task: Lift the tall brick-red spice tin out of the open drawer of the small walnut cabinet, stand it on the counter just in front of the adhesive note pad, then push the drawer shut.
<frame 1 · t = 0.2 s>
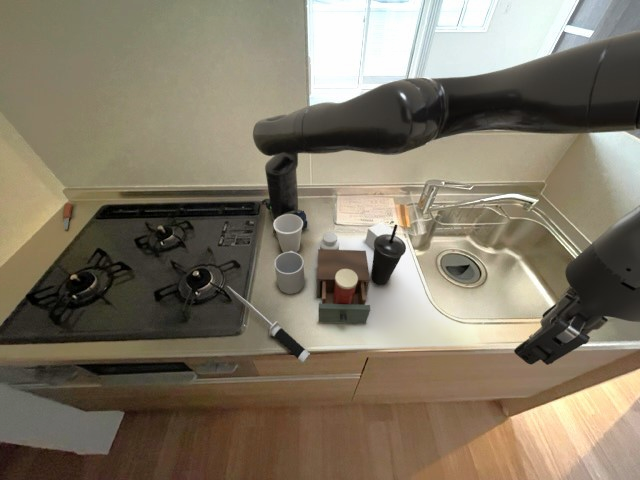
hand: (536, 337, 35), 25 cm above the worktop, tool pointing down, fingers open, 8 cm apart
dixie cup: (290, 247, 79), on the worktop
cup: (291, 279, 71), on the worktop
tin: (341, 306, 63), point 2 cm above the worktop, touching drawer
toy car: (287, 220, 83), point 3 cm above the worktop
kitchen knife: (71, 215, 87), point 1 cm above the worktop
adhesive note: (378, 244, 81), on the worktop
drinking cup: (379, 278, 72), on the worktop
cabinet: (340, 283, 70), on the worktop
knife: (264, 324, 61), on the worktop
drawer: (342, 302, 61), point 4 cm above the worktop, slide at 6.0 cm, touching tin
supplement bottle: (328, 260, 76), on the worktop
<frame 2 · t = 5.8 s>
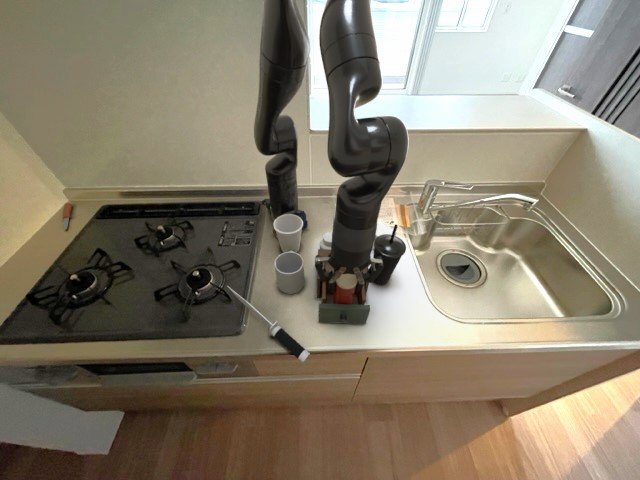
hand: (344, 289, 58), 10 cm above the worktop, tool pointing down, fingers closed on tin, 4 cm apart
tin: (341, 306, 63), point 2 cm above the worktop, touching drawer, gripper
everything else where it was.
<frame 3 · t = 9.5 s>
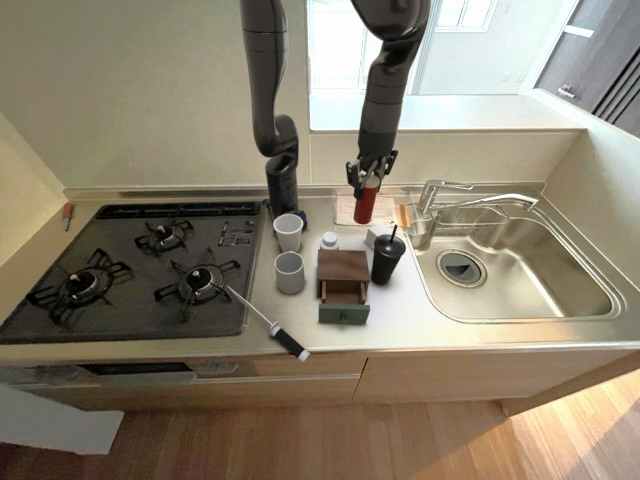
hand: (366, 195, 62), 22 cm above the worktop, tool pointing down, fingers closed on tin, 4 cm apart
tin: (362, 218, 67), point 14 cm above the worktop, touching gripper
drawer: (342, 302, 61), point 4 cm above the worktop, slide at 6.0 cm
everything else where it was.
when the fingers open (8 cm above the worktop, at t = 13.1 s): tin stays where it is, on the worktop.
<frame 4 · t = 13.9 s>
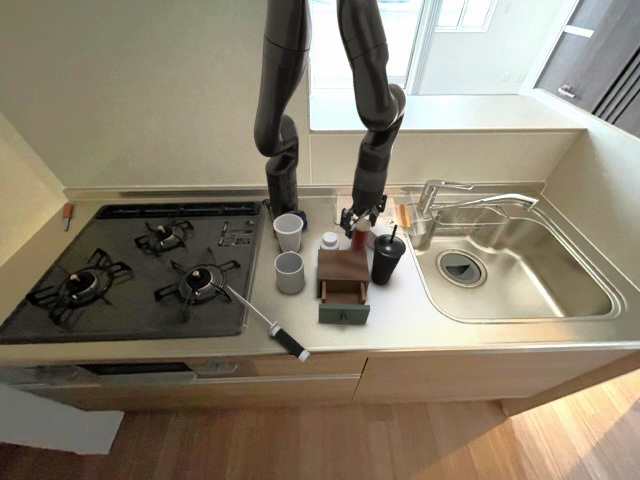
hand: (360, 231, 72), 9 cm above the worktop, tool pointing down, fingers open, 8 cm apart
tin: (356, 252, 78), on the worktop
everything else where it was.
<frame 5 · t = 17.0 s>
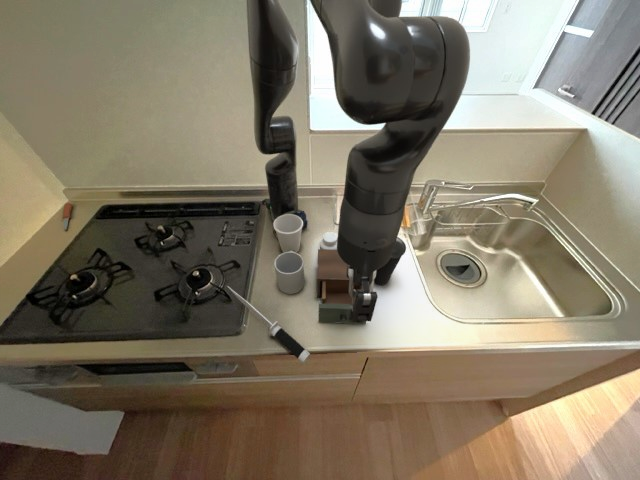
hand: (354, 296, 44), 20 cm above the worktop, tool pointing down, fingers open, 8 cm apart
nothing on the worktop moved.
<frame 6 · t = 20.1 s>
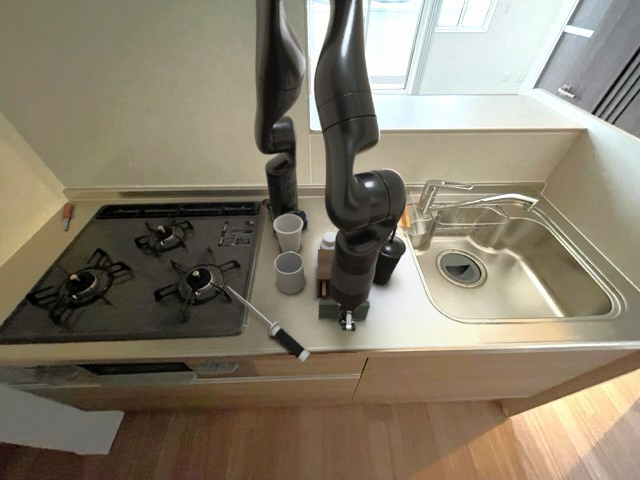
hand: (343, 322, 57), 5 cm above the worktop, tool pointing down, fingers closed
drawer: (342, 299, 62), point 4 cm above the worktop, slide at 5.1 cm, touching gripper
everything else where it was.
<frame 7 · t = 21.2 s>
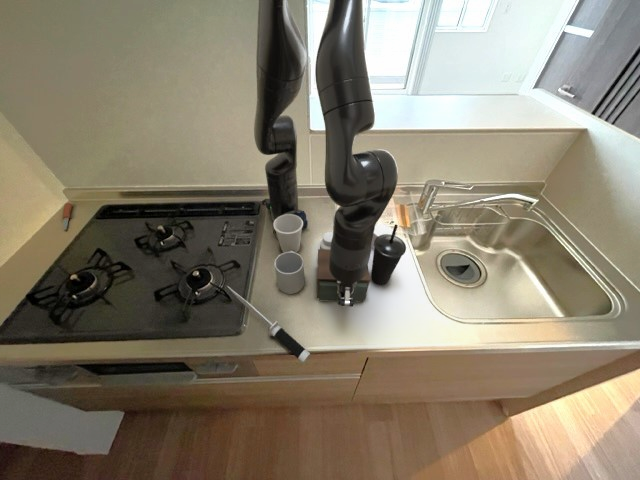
hand: (342, 302, 61), 4 cm above the worktop, tool pointing down, fingers closed
drawer: (341, 281, 66), point 4 cm above the worktop, slide at 0.0 cm, touching cabinet, gripper
everything else where it was.
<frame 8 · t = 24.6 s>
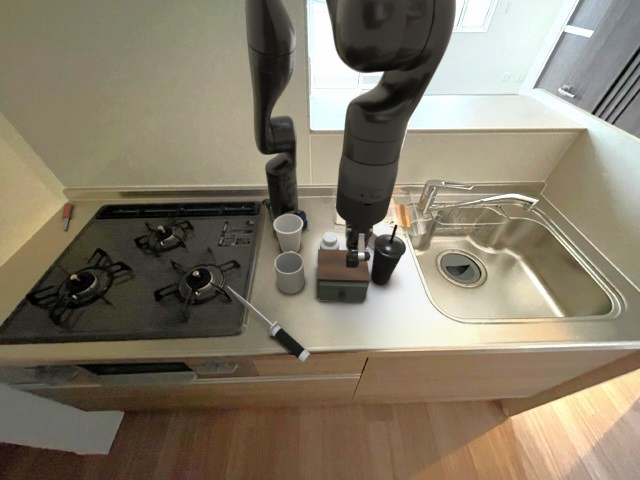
hand: (351, 264, 47), 22 cm above the worktop, tool pointing down, fingers closed
drawer: (341, 281, 66), point 4 cm above the worktop, slide at 0.0 cm, touching cabinet
everything else where it was.
at the end: tin 0.2 cm from the target spot on the worktop beside the adhesive note, on the worktop; tin tilted 0°; drawer slide at 0.0 cm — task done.
